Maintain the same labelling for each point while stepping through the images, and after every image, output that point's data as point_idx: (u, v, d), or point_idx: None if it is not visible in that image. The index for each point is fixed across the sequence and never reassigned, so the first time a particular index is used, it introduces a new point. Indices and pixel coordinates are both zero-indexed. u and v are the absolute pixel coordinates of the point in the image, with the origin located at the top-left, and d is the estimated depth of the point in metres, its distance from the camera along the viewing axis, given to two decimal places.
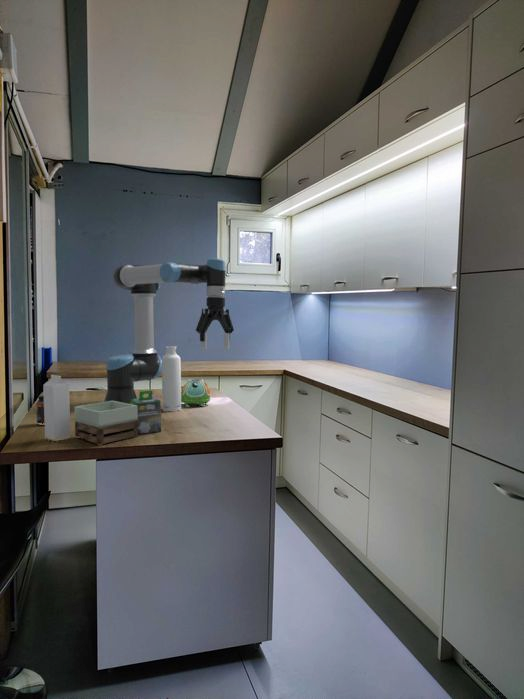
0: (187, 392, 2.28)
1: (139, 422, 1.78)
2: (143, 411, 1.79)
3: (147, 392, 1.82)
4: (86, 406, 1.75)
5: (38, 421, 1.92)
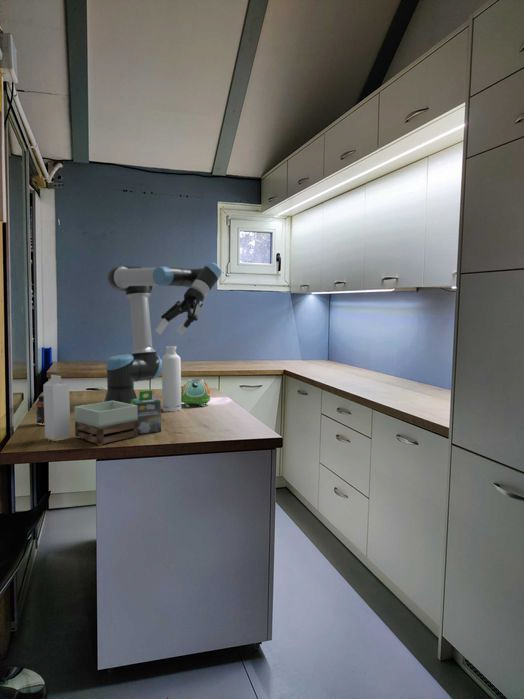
0: (187, 392, 2.28)
1: (139, 422, 1.78)
2: (143, 411, 1.79)
3: (147, 392, 1.82)
4: (86, 406, 1.75)
5: (38, 421, 1.92)
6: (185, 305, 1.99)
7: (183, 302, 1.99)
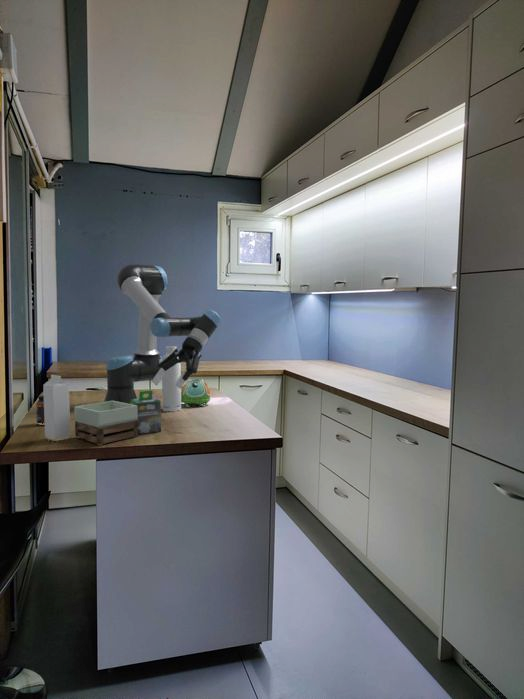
0: (187, 392, 2.28)
1: (139, 422, 1.78)
2: (143, 411, 1.79)
3: (147, 392, 1.82)
4: (86, 406, 1.75)
5: (38, 421, 1.92)
6: (183, 355, 1.95)
7: (181, 352, 1.95)
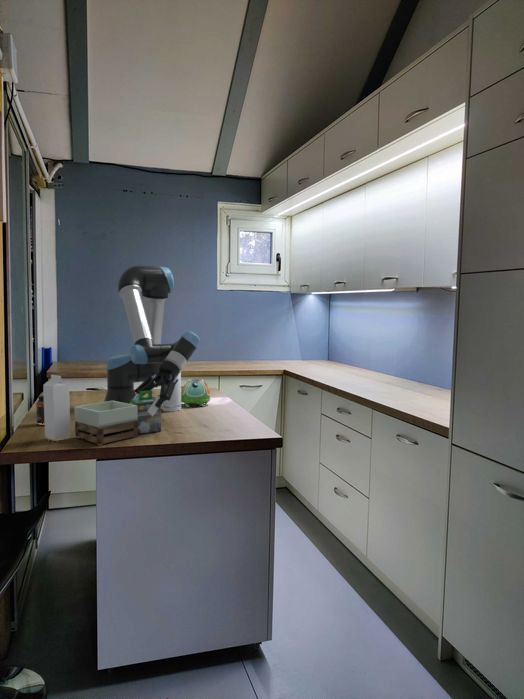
0: (187, 392, 2.28)
1: (139, 422, 1.78)
2: (143, 410, 1.79)
3: (147, 392, 1.82)
4: (86, 406, 1.75)
5: (38, 421, 1.92)
6: (160, 379, 1.87)
7: (158, 376, 1.88)
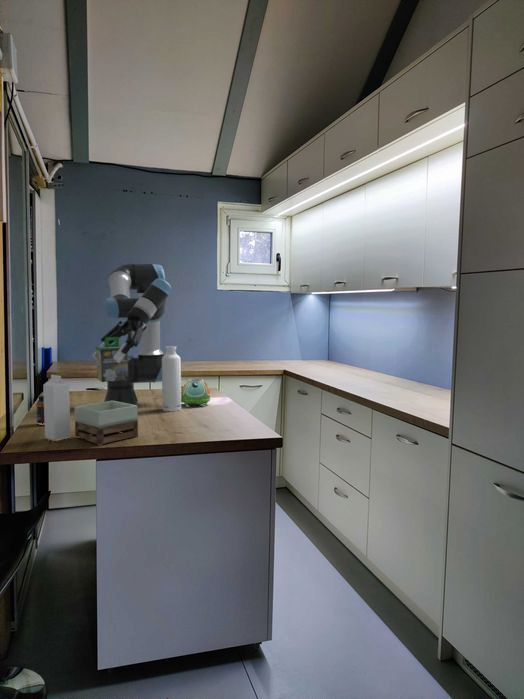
0: (187, 392, 2.28)
1: (104, 369, 1.68)
2: (108, 357, 1.68)
3: (113, 338, 1.72)
4: (86, 406, 1.75)
5: (38, 421, 1.92)
6: (127, 326, 1.77)
7: (126, 323, 1.78)
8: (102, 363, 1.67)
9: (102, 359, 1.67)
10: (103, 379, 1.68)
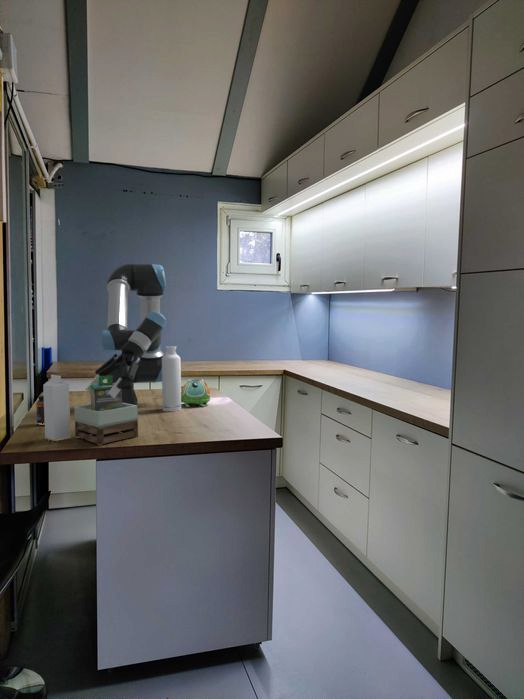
0: (187, 392, 2.28)
1: (98, 409, 1.68)
2: (102, 396, 1.68)
3: (107, 377, 1.72)
4: (86, 406, 1.75)
5: (38, 421, 1.92)
6: (121, 361, 1.77)
7: (120, 357, 1.77)
8: (96, 402, 1.67)
9: (96, 399, 1.67)
10: None
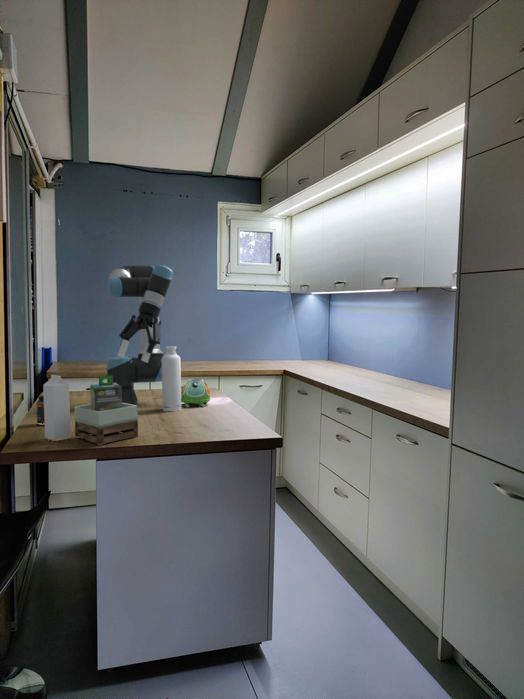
0: (187, 392, 2.28)
1: (98, 409, 1.68)
2: (102, 396, 1.68)
3: (107, 377, 1.72)
4: (86, 406, 1.75)
5: (38, 421, 1.92)
6: (142, 323, 1.84)
7: (139, 320, 1.85)
8: (96, 403, 1.67)
9: (96, 399, 1.67)
10: None
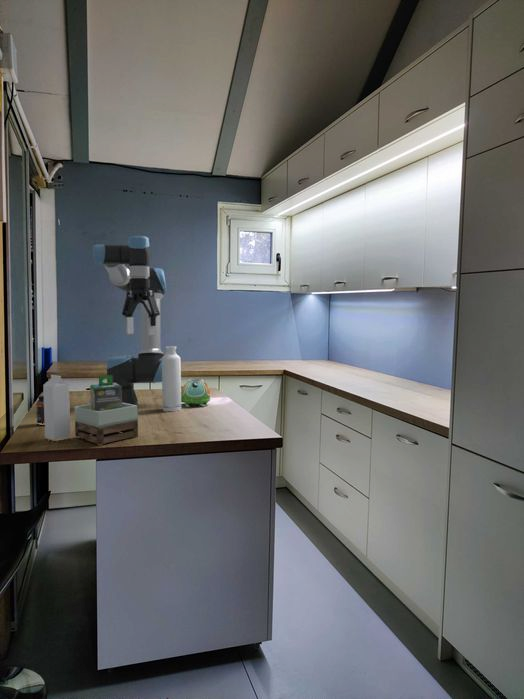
0: (187, 392, 2.28)
1: (98, 409, 1.68)
2: (102, 396, 1.68)
3: (107, 377, 1.72)
4: (86, 406, 1.75)
5: (38, 421, 1.92)
6: (138, 298, 1.89)
7: (134, 296, 1.89)
8: (96, 402, 1.67)
9: (96, 399, 1.67)
10: None
